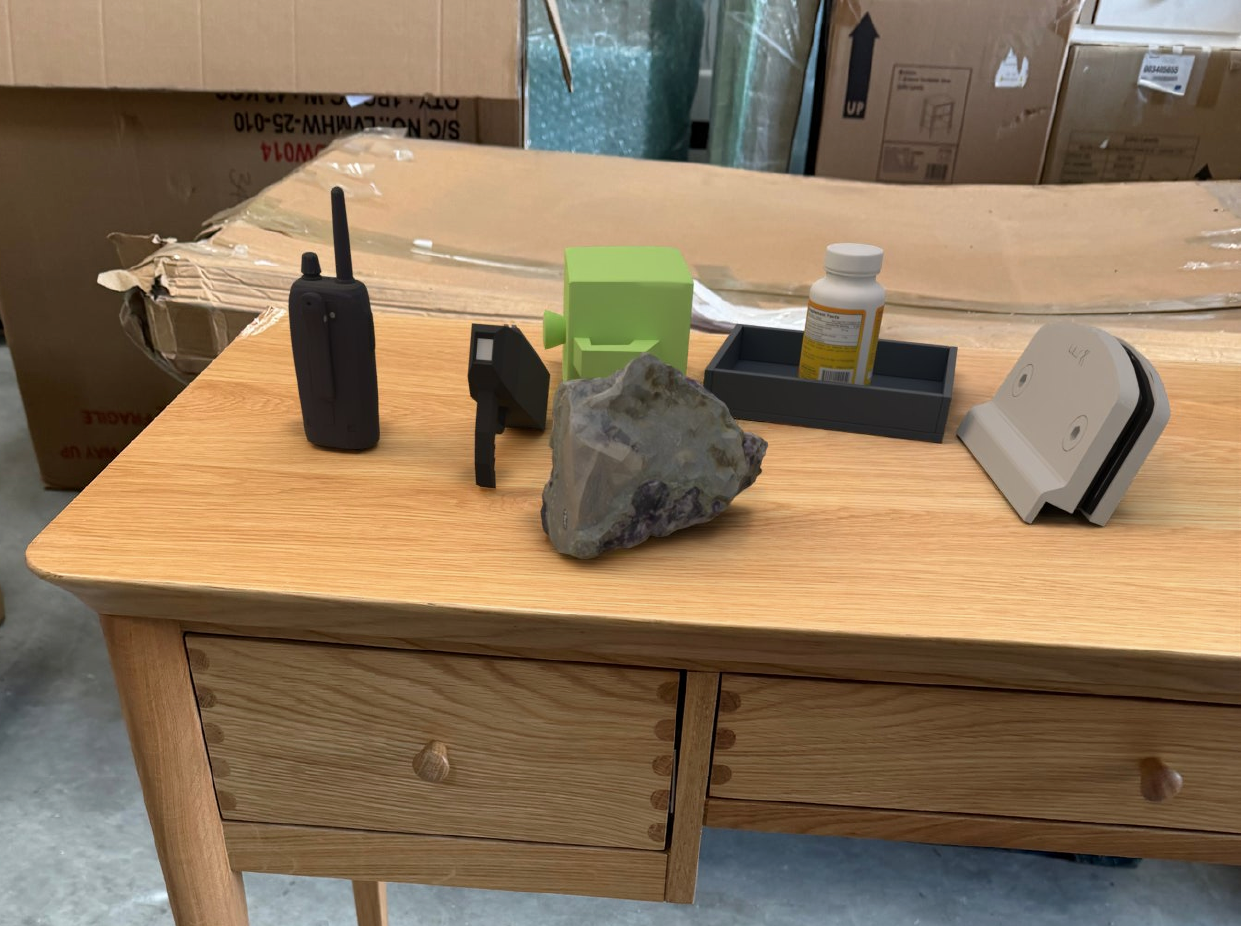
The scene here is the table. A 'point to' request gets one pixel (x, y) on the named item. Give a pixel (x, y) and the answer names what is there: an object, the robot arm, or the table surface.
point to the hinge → (1069, 422)
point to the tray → (834, 386)
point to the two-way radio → (335, 347)
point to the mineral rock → (641, 458)
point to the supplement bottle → (844, 316)
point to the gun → (503, 390)
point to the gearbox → (621, 309)
